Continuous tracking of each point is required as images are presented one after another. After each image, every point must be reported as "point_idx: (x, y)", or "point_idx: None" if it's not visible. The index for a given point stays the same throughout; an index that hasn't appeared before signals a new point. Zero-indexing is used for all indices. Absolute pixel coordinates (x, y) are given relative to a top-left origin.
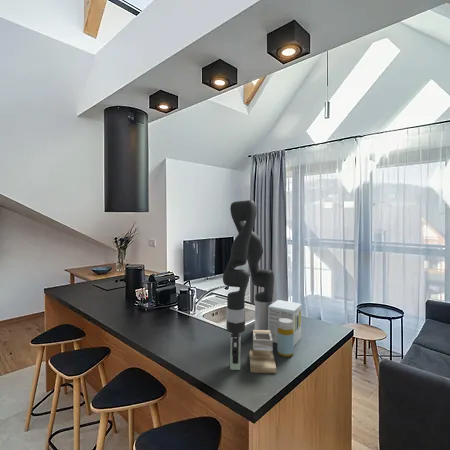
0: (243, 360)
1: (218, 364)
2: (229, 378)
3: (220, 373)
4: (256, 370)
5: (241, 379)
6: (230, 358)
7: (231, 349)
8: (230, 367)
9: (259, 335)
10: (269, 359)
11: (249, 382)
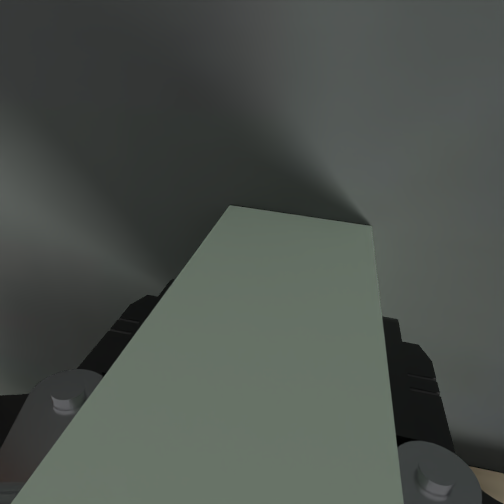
0: (452, 397)
1: (395, 18)
2: (28, 173)
3: (120, 54)
4: None
5: (37, 296)
6: (176, 280)
7: (80, 438)
8: (222, 217)
9: None
10: None
11: (6, 353)
